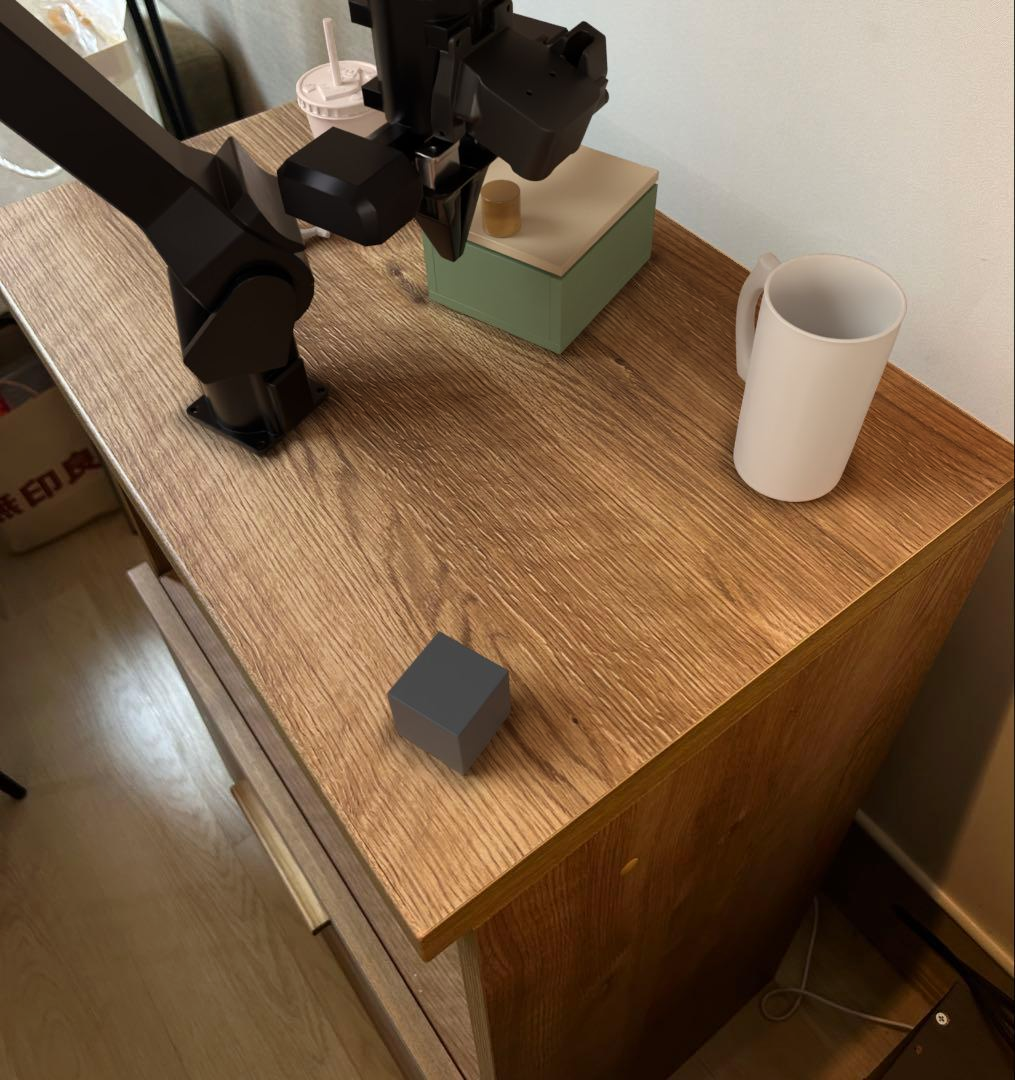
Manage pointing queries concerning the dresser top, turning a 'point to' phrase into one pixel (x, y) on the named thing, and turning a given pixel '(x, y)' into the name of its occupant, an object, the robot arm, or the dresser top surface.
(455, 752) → the block
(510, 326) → the box
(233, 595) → the dresser top surface
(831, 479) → the mug
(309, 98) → the smoothie
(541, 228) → the slide lid
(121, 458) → the dresser top surface
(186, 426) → the dresser top surface
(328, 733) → the dresser top surface
